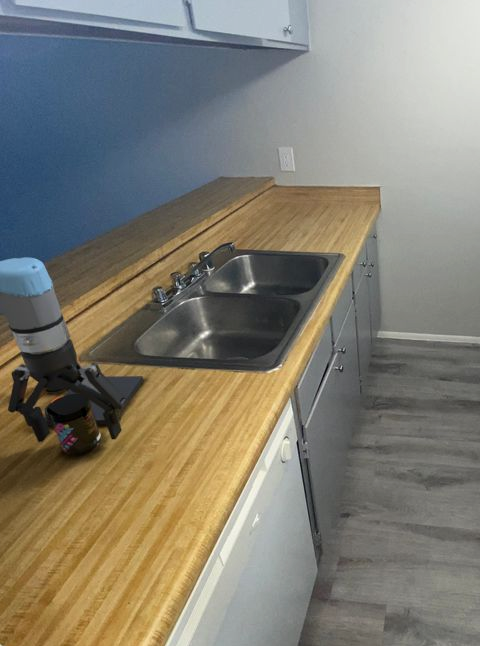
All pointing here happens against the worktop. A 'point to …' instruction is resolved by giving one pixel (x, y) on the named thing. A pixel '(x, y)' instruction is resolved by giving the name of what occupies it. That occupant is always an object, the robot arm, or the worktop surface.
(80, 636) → the worktop surface
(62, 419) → the supplement container
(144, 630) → the worktop surface
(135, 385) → the kitchen scale
